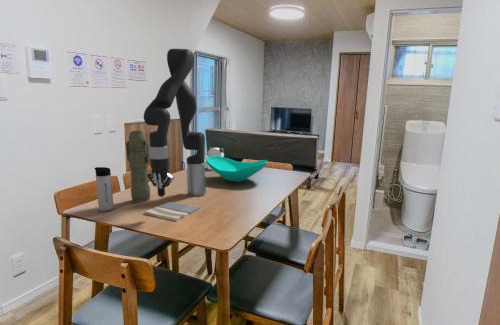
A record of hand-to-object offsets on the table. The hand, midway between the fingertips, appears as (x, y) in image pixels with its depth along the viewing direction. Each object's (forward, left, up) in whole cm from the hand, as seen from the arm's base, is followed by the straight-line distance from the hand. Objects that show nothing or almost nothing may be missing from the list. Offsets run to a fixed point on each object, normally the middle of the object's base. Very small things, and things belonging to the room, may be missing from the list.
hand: (161, 196), depth 142 cm
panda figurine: (-93, -31, -10) cm, 98 cm away
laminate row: (-11, 0, -10) cm, 15 cm away
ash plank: (-2, 0, -10) cm, 10 cm away
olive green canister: (-13, -25, -10) cm, 30 cm away
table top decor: (-70, -2, -10) cm, 71 cm away
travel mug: (+4, -30, -10) cm, 32 cm away
